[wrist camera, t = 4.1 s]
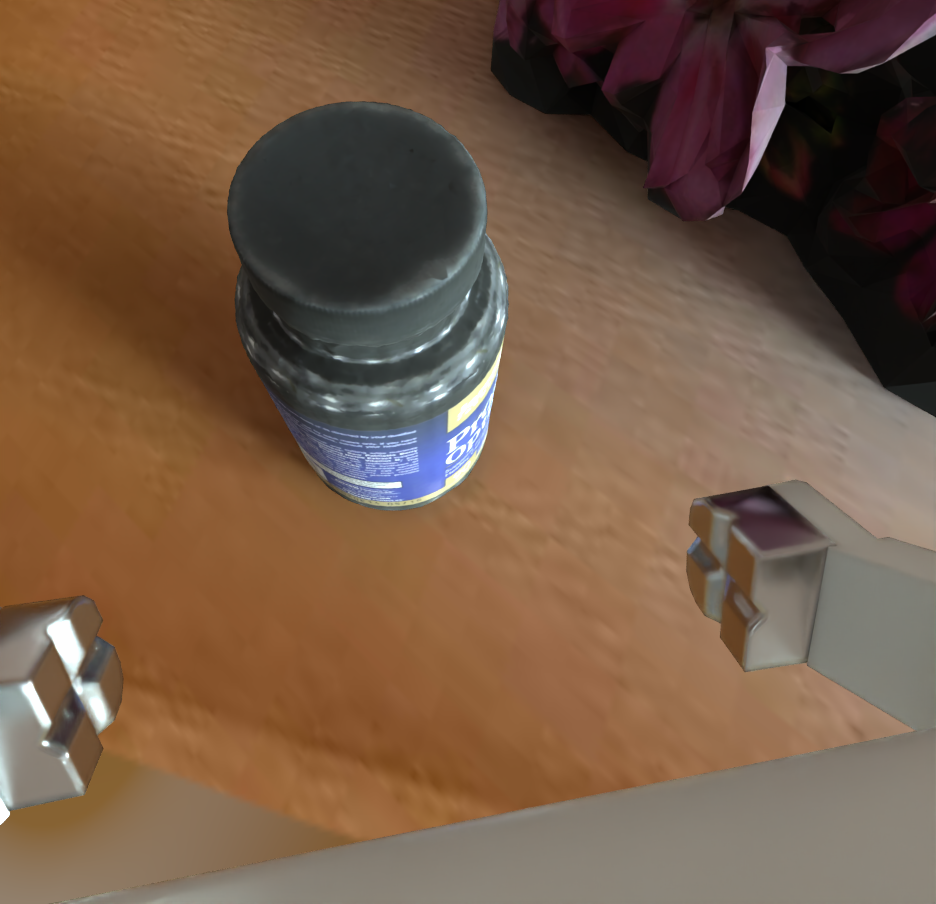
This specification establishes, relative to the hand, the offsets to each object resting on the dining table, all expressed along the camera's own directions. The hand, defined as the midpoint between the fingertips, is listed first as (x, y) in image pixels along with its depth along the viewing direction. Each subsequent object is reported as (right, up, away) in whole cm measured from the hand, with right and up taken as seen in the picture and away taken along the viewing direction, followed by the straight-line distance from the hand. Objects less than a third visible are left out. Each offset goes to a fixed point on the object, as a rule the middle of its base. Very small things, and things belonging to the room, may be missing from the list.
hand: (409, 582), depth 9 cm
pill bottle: (-2, +3, +13) cm, 14 cm away
